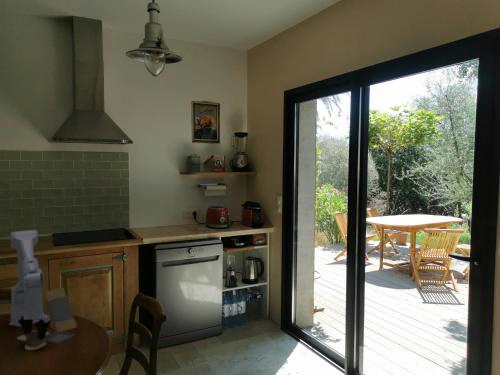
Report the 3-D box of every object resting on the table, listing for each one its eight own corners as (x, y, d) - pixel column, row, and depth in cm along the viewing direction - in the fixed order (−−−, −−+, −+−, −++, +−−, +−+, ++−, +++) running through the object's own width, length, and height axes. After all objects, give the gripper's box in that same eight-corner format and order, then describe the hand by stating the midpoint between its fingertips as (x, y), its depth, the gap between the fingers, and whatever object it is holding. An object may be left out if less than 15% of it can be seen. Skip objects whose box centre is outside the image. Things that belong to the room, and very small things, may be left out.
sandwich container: (57, 334, 163) (56, 299, 162) (44, 324, 174) (43, 291, 173) (78, 328, 169) (77, 294, 168) (64, 318, 180) (63, 287, 179)
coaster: (20, 348, 150) (20, 346, 150) (37, 341, 156) (36, 338, 156) (33, 352, 147) (33, 349, 147) (49, 344, 153) (49, 341, 153)
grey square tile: (42, 341, 156) (42, 339, 156) (60, 333, 164) (60, 330, 164) (58, 345, 153) (58, 342, 153) (75, 336, 161) (74, 334, 160)
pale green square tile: (16, 340, 157) (16, 337, 157) (35, 331, 165) (35, 329, 165) (31, 343, 154) (31, 341, 154) (49, 335, 162) (49, 332, 162)
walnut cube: (26, 345, 150) (25, 334, 150) (36, 340, 154) (35, 329, 154) (34, 347, 149) (33, 335, 148) (44, 342, 153) (44, 331, 152)
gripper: (11, 304, 150) (12, 338, 150) (38, 309, 144) (39, 344, 145) (27, 298, 156) (29, 331, 157) (54, 303, 151) (55, 337, 151)
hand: (35, 337), depth 151 cm, fingers open, 7 cm apart
